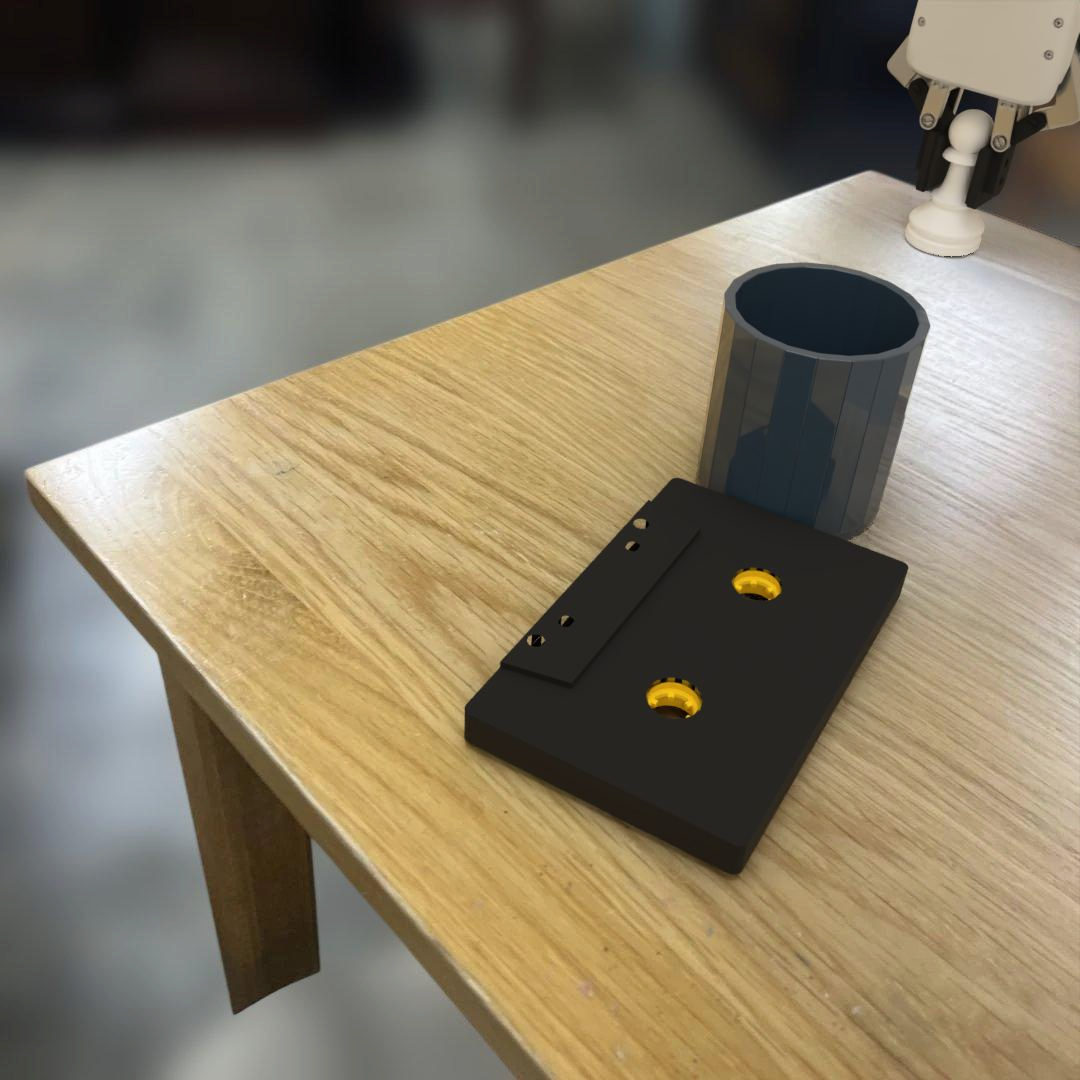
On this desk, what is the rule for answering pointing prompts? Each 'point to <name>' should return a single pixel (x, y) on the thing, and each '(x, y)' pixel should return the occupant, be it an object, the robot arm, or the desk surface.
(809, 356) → the pen holder
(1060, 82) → the robot arm
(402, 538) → the desk surface
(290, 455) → the desk surface
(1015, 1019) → the desk surface
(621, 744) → the cassette tape
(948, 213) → the chess pawn
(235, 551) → the desk surface
